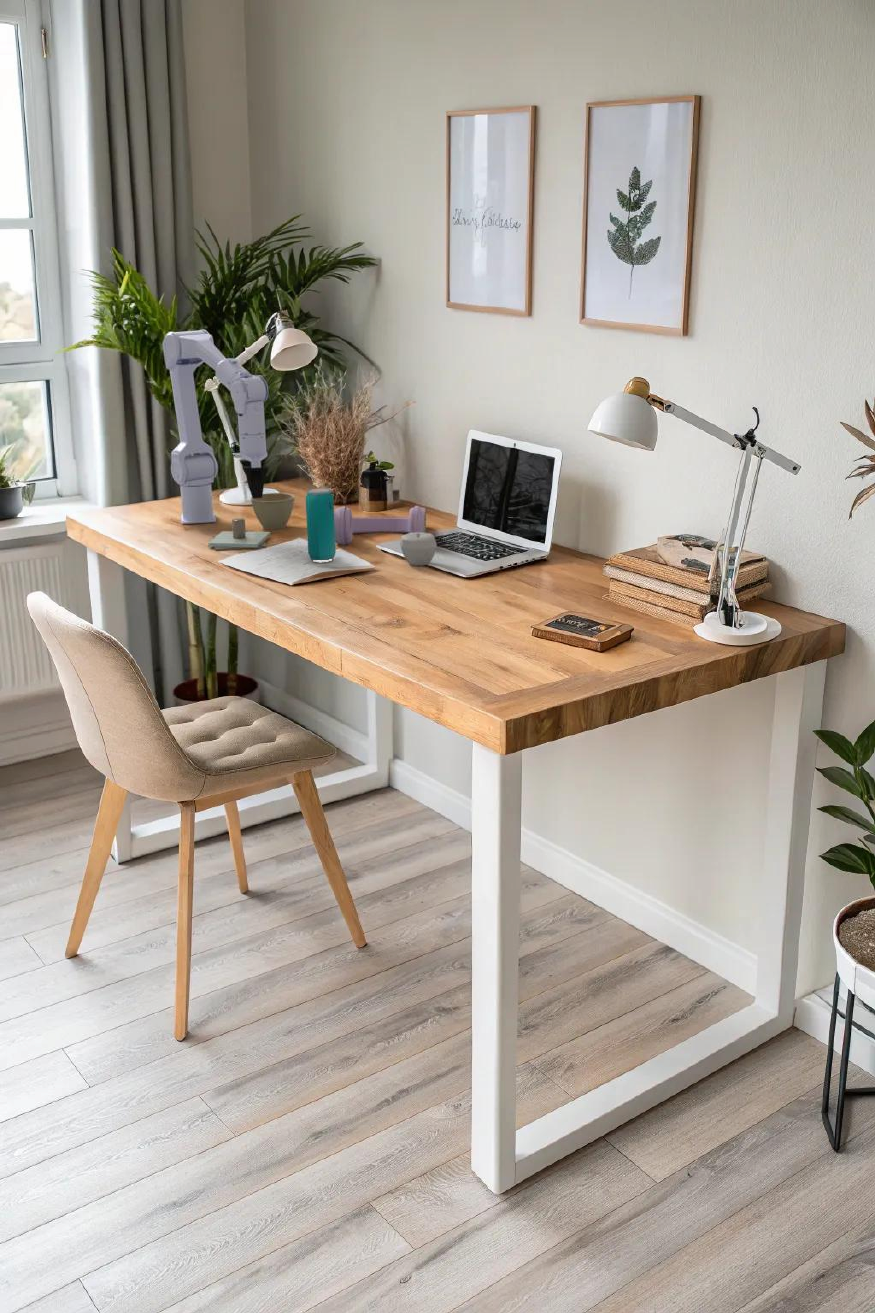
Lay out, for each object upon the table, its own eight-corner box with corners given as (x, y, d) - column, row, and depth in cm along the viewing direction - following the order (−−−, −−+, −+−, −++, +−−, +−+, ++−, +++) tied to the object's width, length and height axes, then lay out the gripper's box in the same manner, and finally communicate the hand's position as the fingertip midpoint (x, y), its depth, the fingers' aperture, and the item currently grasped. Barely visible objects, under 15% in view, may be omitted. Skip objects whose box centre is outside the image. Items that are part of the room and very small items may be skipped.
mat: (212, 537, 282) (212, 536, 281) (261, 534, 284) (261, 533, 284) (215, 550, 270) (215, 549, 270) (266, 547, 273) (266, 545, 272)
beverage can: (338, 557, 264) (335, 487, 259) (333, 564, 259) (330, 492, 254) (311, 556, 265) (308, 486, 260) (306, 563, 259) (302, 492, 254)
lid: (222, 534, 283) (221, 513, 281) (270, 535, 281) (268, 514, 280) (208, 546, 272) (206, 525, 271) (257, 547, 271) (256, 525, 270)
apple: (444, 565, 257) (444, 534, 255) (411, 571, 253) (411, 539, 251) (425, 557, 263) (424, 526, 261) (392, 562, 259) (391, 531, 257)
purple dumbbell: (332, 514, 268) (341, 484, 286) (335, 556, 273) (344, 524, 291) (423, 513, 268) (427, 483, 286) (424, 556, 272) (428, 524, 290)
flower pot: (304, 526, 291) (303, 496, 289) (271, 534, 284) (269, 503, 282) (276, 520, 298) (275, 490, 295) (243, 527, 291) (241, 497, 288)
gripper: (231, 428, 279) (235, 488, 283) (235, 439, 265) (239, 502, 270) (263, 427, 280) (266, 487, 285) (268, 437, 267) (272, 500, 271)
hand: (255, 494), depth 277 cm, fingers open, 7 cm apart
